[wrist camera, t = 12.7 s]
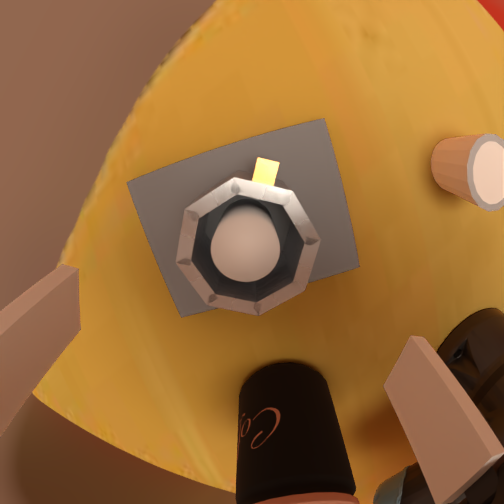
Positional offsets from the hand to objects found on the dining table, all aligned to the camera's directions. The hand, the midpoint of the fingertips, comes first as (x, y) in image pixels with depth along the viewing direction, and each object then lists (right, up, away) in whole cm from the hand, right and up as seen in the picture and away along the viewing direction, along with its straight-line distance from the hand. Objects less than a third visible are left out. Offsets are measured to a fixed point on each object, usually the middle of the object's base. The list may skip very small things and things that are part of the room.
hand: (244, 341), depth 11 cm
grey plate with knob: (0, +6, +17) cm, 18 cm away
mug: (0, +5, +16) cm, 17 cm away
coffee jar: (+4, -14, +24) cm, 28 cm away
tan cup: (+21, +12, +15) cm, 29 cm away
